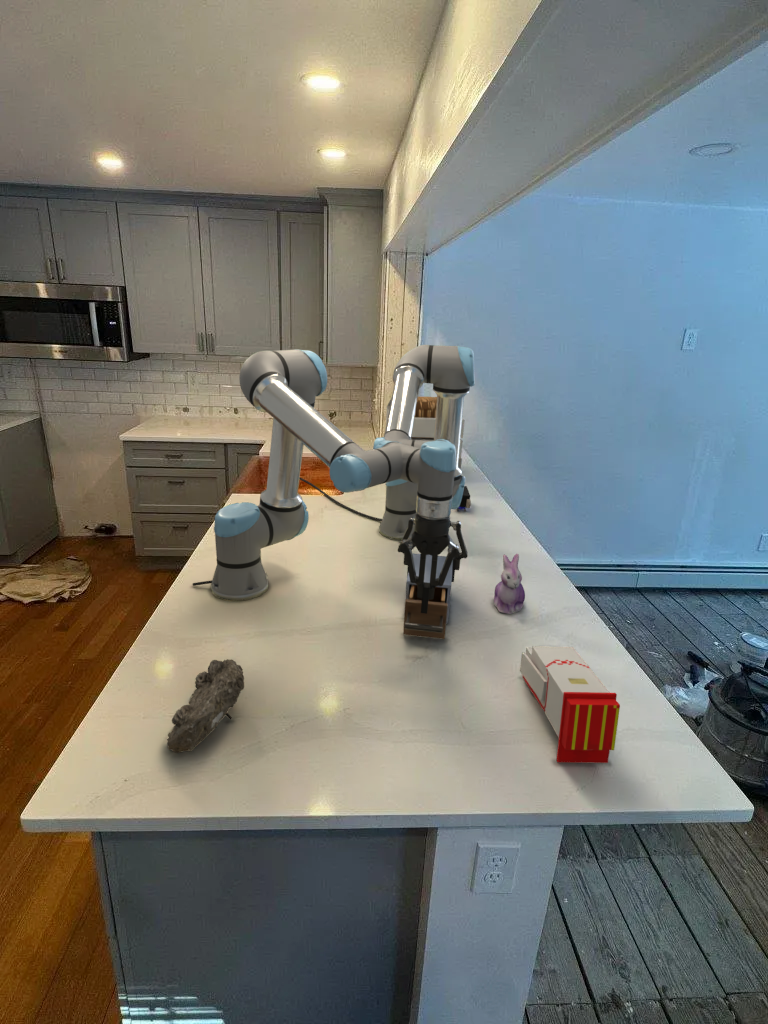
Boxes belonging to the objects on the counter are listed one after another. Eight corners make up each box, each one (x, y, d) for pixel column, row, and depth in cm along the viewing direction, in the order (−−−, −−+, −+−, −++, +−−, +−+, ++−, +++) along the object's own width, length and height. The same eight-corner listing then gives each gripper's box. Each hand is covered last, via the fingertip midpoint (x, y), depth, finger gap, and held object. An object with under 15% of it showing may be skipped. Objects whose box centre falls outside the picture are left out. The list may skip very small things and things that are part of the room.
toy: (568, 628, 125) (630, 701, 96) (562, 684, 128) (620, 770, 99) (514, 627, 125) (559, 699, 96) (509, 683, 128) (551, 770, 98)
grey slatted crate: (382, 463, 289) (386, 382, 275) (445, 464, 293) (451, 384, 279) (390, 482, 257) (394, 392, 243) (460, 483, 261) (468, 394, 247)
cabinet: (447, 624, 144) (451, 585, 140) (404, 619, 145) (406, 581, 141) (449, 592, 159) (453, 556, 155) (410, 588, 160) (412, 553, 156)
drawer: (443, 654, 130) (446, 619, 127) (400, 649, 131) (402, 615, 128) (446, 606, 150) (449, 575, 147) (409, 602, 151) (411, 571, 148)
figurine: (507, 618, 147) (514, 566, 142) (483, 600, 156) (489, 550, 151) (534, 611, 152) (542, 560, 146) (510, 594, 160) (516, 545, 155)
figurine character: (470, 516, 223) (465, 500, 237) (473, 499, 220) (467, 484, 233) (453, 516, 223) (449, 500, 236) (455, 498, 220) (451, 483, 233)
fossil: (192, 660, 117) (244, 628, 112) (224, 691, 120) (276, 661, 115) (142, 746, 98) (202, 712, 93) (182, 779, 101) (242, 748, 96)
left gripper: (401, 517, 119) (394, 615, 127) (463, 523, 118) (452, 622, 126) (404, 505, 126) (397, 599, 134) (463, 511, 125) (453, 605, 133)
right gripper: (389, 502, 144) (385, 579, 152) (483, 510, 142) (474, 588, 149) (392, 493, 151) (389, 567, 159) (482, 501, 149) (474, 576, 156)
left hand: (424, 610), depth 130 cm, fingers closed
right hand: (430, 577), depth 154 cm, fingers closed on cabinet, 11 cm apart
